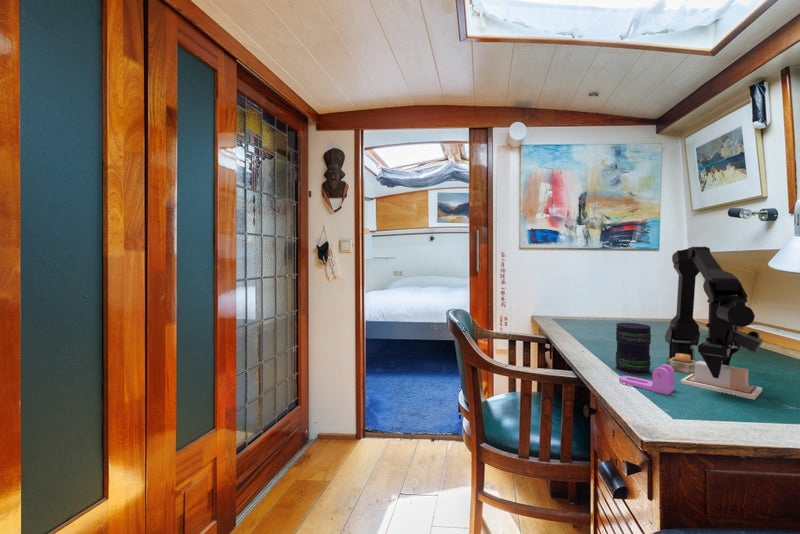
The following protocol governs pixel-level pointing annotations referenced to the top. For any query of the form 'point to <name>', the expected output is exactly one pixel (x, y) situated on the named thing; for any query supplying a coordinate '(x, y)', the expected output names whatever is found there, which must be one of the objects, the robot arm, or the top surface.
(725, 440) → the top surface
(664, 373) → the bracket
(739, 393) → the picture board
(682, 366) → the button block
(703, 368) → the two-tone rectangular block
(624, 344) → the storage jar
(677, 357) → the button
